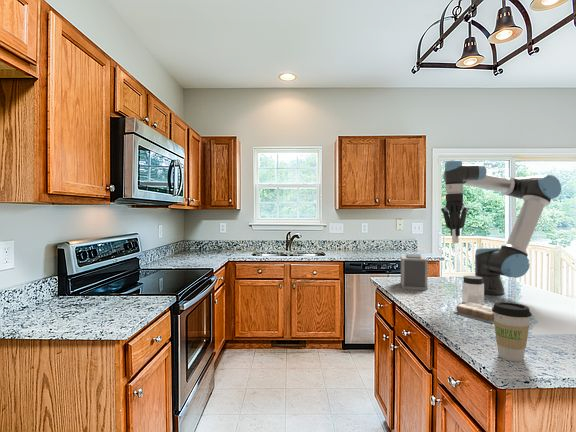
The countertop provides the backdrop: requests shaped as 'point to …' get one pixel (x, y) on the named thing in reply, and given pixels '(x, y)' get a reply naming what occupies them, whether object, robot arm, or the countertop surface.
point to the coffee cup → (511, 329)
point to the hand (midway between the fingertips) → (455, 242)
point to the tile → (476, 310)
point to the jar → (473, 290)
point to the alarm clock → (414, 272)
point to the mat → (475, 317)
